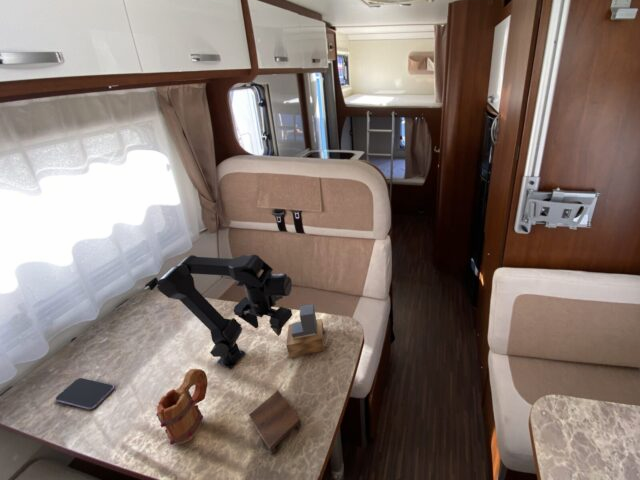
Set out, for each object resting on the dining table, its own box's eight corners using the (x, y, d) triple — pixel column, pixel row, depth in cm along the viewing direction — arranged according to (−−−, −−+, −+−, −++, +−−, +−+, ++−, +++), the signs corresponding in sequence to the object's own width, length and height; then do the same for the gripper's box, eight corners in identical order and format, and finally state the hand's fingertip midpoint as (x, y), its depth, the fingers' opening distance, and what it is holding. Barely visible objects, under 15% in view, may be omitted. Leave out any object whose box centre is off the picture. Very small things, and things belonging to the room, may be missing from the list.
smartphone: (91, 409, 90) (53, 399, 93) (92, 411, 91) (54, 401, 94) (115, 385, 97) (79, 376, 100) (116, 387, 97) (80, 379, 100)
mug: (187, 454, 79) (168, 419, 73) (161, 447, 81) (140, 413, 75) (224, 397, 92) (211, 364, 86) (202, 393, 94) (187, 360, 88)
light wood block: (289, 357, 104) (286, 345, 101) (291, 336, 112) (288, 324, 109) (324, 350, 106) (322, 338, 103) (324, 330, 114) (321, 318, 111)
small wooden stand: (251, 421, 86) (248, 414, 84) (279, 396, 92) (277, 390, 90) (271, 454, 78) (269, 447, 77) (301, 425, 84) (299, 418, 83)
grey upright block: (317, 323, 109) (313, 303, 105) (317, 334, 105) (313, 314, 101) (293, 327, 108) (289, 307, 104) (292, 339, 103) (287, 318, 100)
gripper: (298, 283, 96) (306, 319, 102) (252, 272, 102) (262, 306, 109) (275, 308, 86) (285, 346, 93) (226, 294, 93) (239, 331, 99)
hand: (268, 331), depth 98 cm, fingers open, 9 cm apart
